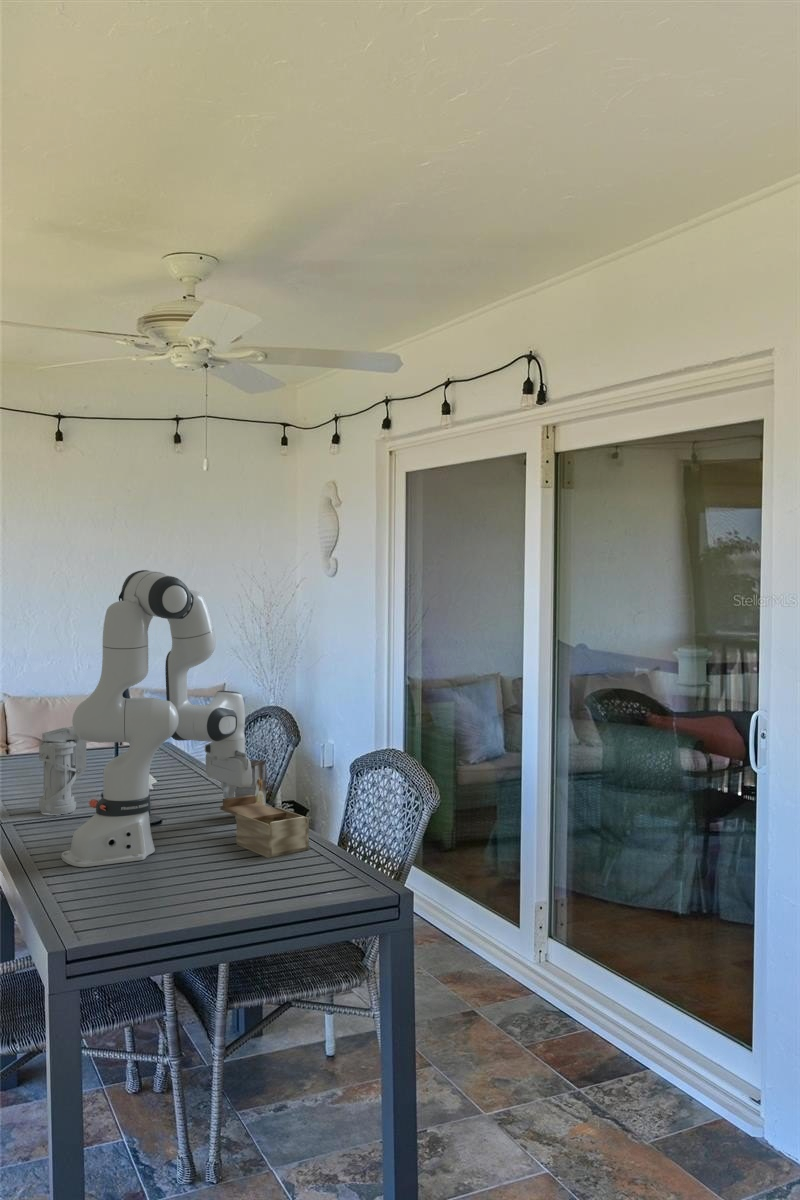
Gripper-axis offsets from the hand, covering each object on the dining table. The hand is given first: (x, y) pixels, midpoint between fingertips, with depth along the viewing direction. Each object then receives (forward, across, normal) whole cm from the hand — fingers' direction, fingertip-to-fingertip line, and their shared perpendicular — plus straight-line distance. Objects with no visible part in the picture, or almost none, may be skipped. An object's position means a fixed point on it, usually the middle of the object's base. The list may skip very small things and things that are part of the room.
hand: (228, 798), depth 271 cm
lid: (+1, -13, 0) cm, 13 cm away
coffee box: (+9, +9, -12) cm, 17 cm away
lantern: (+9, +49, +29) cm, 57 cm away
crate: (+9, -23, 0) cm, 25 cm away
